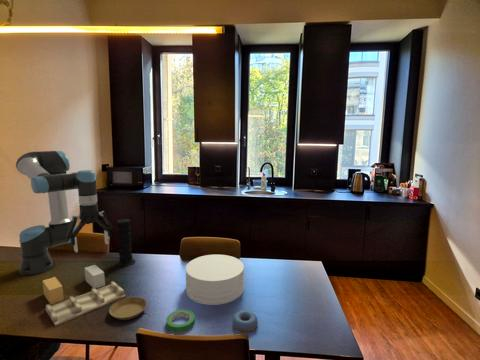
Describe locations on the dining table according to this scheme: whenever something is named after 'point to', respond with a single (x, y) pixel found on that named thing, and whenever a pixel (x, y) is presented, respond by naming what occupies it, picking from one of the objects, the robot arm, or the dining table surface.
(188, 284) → the plate stack
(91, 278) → the grey bar
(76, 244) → the robot arm
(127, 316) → the plant saucer
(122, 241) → the handle grip
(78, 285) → the dining table surface
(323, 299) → the dining table surface
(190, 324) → the tape roll
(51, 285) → the tan rectangular block
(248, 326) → the doughnut
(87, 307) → the rack
